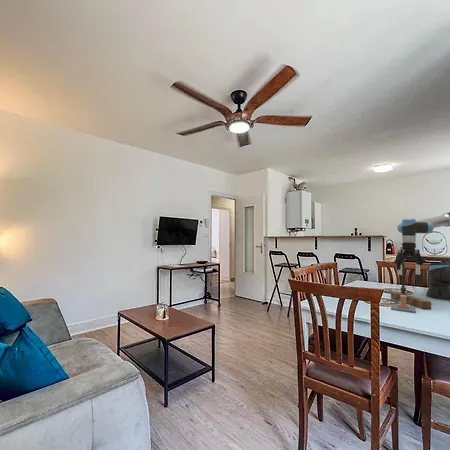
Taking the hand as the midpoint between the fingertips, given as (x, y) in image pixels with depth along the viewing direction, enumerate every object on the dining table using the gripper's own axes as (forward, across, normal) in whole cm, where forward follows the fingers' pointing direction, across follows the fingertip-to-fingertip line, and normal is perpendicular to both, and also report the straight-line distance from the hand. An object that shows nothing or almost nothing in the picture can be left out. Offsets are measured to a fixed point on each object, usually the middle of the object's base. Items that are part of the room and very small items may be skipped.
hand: (409, 274), depth 175 cm
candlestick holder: (+19, -11, -16) cm, 27 cm away
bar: (+19, 0, 0) cm, 19 cm away
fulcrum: (+19, +14, +10) cm, 25 cm away
